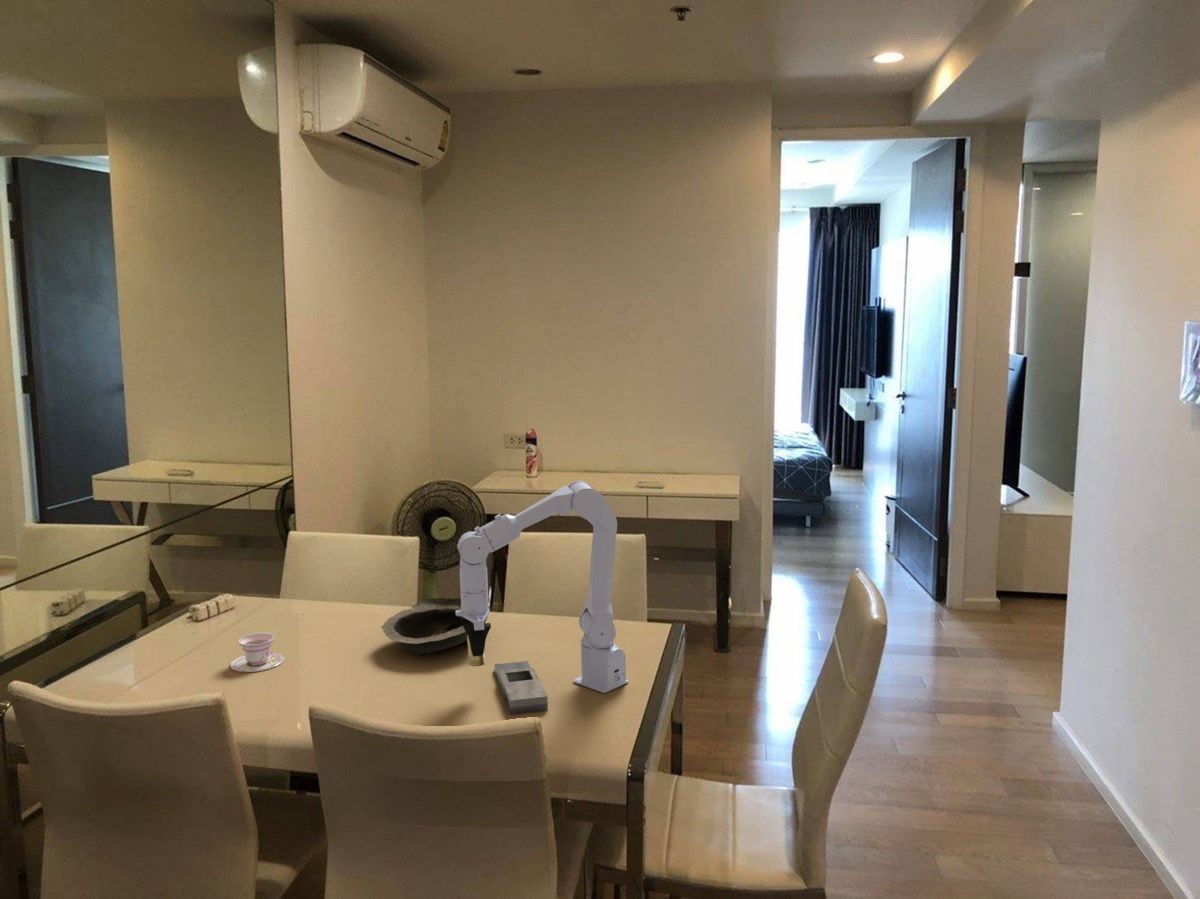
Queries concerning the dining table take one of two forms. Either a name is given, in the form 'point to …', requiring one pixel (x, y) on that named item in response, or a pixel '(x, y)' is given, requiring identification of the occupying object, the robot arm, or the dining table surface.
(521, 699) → the gray slotted block
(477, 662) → the pin
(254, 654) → the teacup
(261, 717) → the dining table surface
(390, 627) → the stone bowl
